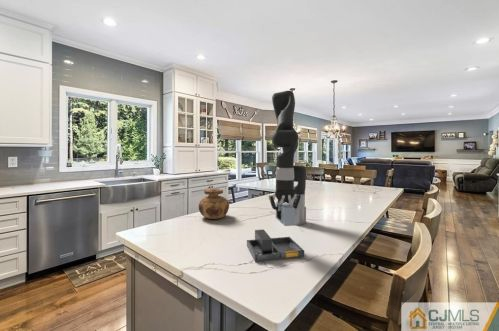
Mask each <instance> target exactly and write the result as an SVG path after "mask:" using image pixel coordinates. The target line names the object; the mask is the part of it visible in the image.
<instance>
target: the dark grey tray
mask: <svg viewBox="0 0 499 331" xmlns="http://www.w3.org/2000/svg"><path fill="white" fill-rule="evenodd" d="M246 247H247V249H248V251H249V253H250V255H251V257H252V259H253V261H254V262H255V263H260V262H269V261H270V262H271V261H281V260H289V259H298V258H299V259H301V258H305V250H304V249H303V248H302V246H300V245H299V244H298V243H297V242H296V241H295V240H293V239H292V237H290V236H282V237H281V236H279V237H270V235H269V234H268V233H267V231H265V229H263V228H262V229H255V230H254V239H248V240H246Z"/></svg>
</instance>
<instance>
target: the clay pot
mask: <svg viewBox="0 0 499 331" xmlns="http://www.w3.org/2000/svg"><path fill="white" fill-rule="evenodd" d="M203 191H204V192H203V193H204V194H205V195H207V196H205V197H203V198H202V199H201V200H199V203H198V210H199V213H200V214H201V216H202V217H204V218H206V219H208V220H218V219H219V220H220V219H222V218H223V217H225V216H226V215H227V214H228V212H229V210H230V201H229V199H227V198H226V197H224V196H221V195H222V194H224V189H222V188H213V187H212V188H210V187H209V188H206V189H204V190H203Z"/></svg>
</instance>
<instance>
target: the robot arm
mask: <svg viewBox="0 0 499 331" xmlns="http://www.w3.org/2000/svg"><path fill="white" fill-rule="evenodd" d="M271 102H272V107H273V110H274V114H275V118H276V128H275V129H274V132H273V134H272V139H271V141H272V145H273V146H275V147H276V148H281V149H282V152H280V153H278V154H277V155H276V170H275V191H274V193H273V194H272V195H270V194H269V195H268V200H269V202H270V205H271V208H272V209H273V210H274V211H275V212H276V211H277V218H278V219H279V220H281V211H280V210H281V206H282V205H283V203H287V204H288V205H290V206H292V207H294V208H295V226H298V225H299V226H302V225H304V224H307V206H305V204H306V188H307V187H306V186H307V185H306V184H307V183H306V182H307V181H306V180H307V168H306V167H305V166H304V165H294V163H295V162H294V158H295V153H296V151H297V150H298V146H299V139H300V138H299V134H298V132H297V131H296V129H295V128H294V114H295V113H294V112H295V106H296V98H295V94H294V92H293V90H283V91H279V92H275V93H273V94H272V95H271ZM295 182H297V185H295ZM276 199H277V201H276V202H277V207H276V202H275V200H276ZM279 220H278V221H279Z"/></svg>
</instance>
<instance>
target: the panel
mask: <svg viewBox="0 0 499 331" xmlns="http://www.w3.org/2000/svg"><path fill="white" fill-rule="evenodd" d="M275 205H276V207H277V201H276V202H275ZM280 211H281V220H279V219H278V218H277V211H276V210H275V219H277V221H279V222H280V224H282V225H283V226H284V227H291V226H294V227H295V226H296V225H295V208H294V207H292V206H290V205H288V204H287V203H286V202H285V203H283V205H282V206H281V210H280Z"/></svg>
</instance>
